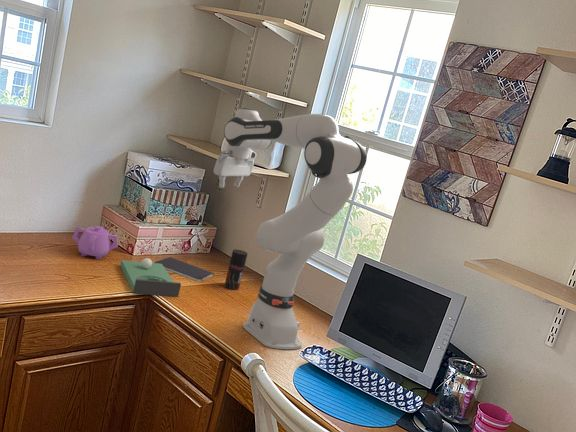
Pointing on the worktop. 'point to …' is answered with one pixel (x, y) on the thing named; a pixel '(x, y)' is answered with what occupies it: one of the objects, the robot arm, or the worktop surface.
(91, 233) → the pot
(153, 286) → the green
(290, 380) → the worktop surface
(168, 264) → the notebook
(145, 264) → the ball
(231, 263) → the deodorant
